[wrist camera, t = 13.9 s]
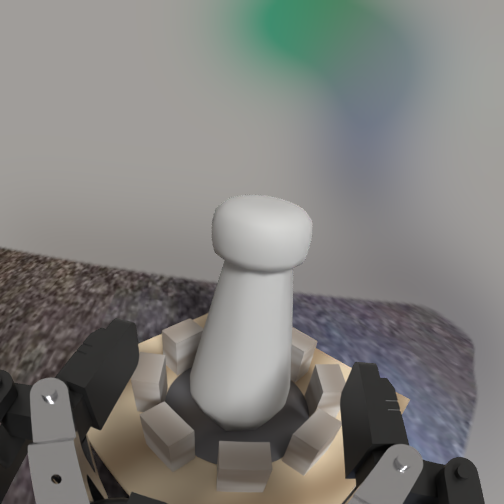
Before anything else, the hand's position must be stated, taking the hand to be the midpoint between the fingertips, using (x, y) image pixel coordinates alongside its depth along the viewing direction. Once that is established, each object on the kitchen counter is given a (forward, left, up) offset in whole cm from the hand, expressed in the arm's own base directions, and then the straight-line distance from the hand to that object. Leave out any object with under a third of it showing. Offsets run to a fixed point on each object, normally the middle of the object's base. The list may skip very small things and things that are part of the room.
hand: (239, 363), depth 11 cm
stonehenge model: (-3, +4, -9) cm, 11 cm away
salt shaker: (-3, +4, -9) cm, 10 cm away
